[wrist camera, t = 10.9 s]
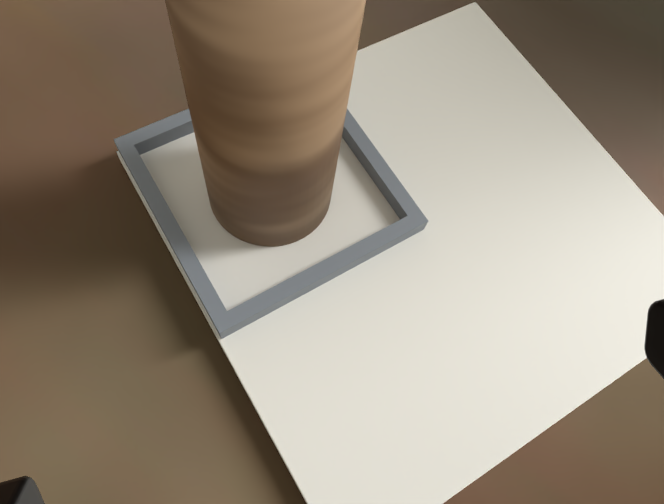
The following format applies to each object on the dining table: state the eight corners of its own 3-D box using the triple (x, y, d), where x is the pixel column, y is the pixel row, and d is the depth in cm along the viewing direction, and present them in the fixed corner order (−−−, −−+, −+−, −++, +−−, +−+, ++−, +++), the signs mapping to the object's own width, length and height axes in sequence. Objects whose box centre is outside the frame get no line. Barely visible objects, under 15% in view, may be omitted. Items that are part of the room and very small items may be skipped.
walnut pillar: (355, 188, 24) (420, -74, 13) (273, 270, 22) (271, 47, 11) (267, 120, 25) (260, -177, 14) (182, 193, 23) (99, -82, 12)
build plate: (719, 301, 25) (747, 289, 23) (342, 570, 19) (348, 575, 18) (470, 13, 30) (480, -12, 28) (120, 161, 25) (111, 140, 23)
